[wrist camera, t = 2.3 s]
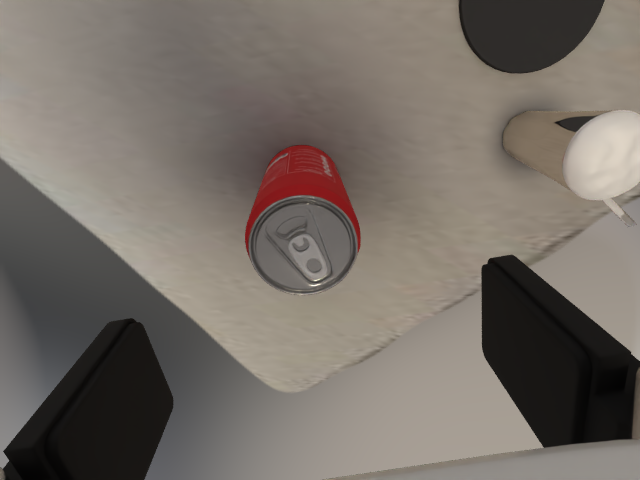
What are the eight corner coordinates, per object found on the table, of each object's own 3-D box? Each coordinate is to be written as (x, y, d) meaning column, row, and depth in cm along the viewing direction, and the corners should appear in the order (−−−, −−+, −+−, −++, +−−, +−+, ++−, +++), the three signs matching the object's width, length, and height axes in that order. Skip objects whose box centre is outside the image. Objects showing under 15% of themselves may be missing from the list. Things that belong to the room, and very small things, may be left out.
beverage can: (316, 128, 26) (329, 167, 15) (350, 193, 28) (382, 269, 17) (251, 164, 27) (218, 226, 16) (288, 225, 29) (281, 317, 18)
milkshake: (493, 183, 28) (585, 235, 19) (491, 108, 26) (595, 126, 17) (555, 170, 28) (678, 216, 19) (558, 94, 26) (699, 104, 17)
